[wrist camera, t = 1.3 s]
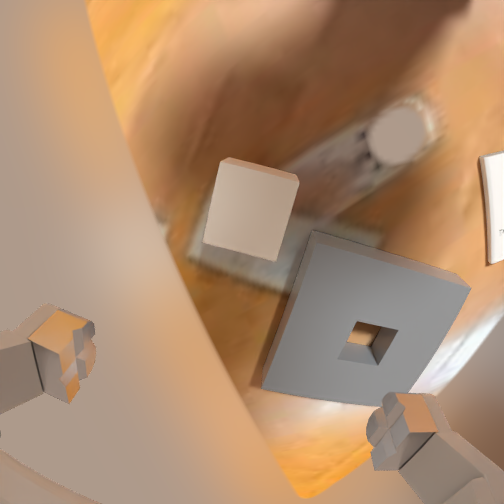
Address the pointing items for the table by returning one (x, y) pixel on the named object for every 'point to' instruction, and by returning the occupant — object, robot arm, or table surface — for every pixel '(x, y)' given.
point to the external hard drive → (494, 203)
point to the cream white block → (250, 208)
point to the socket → (363, 310)
